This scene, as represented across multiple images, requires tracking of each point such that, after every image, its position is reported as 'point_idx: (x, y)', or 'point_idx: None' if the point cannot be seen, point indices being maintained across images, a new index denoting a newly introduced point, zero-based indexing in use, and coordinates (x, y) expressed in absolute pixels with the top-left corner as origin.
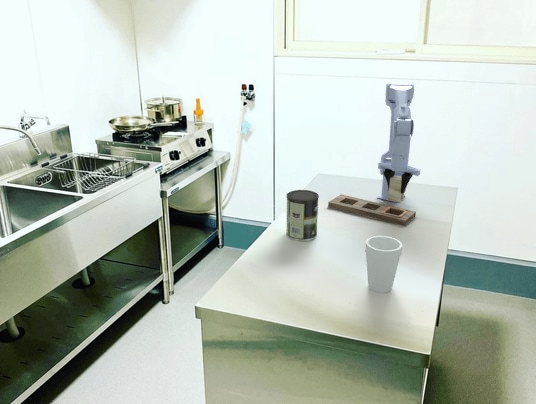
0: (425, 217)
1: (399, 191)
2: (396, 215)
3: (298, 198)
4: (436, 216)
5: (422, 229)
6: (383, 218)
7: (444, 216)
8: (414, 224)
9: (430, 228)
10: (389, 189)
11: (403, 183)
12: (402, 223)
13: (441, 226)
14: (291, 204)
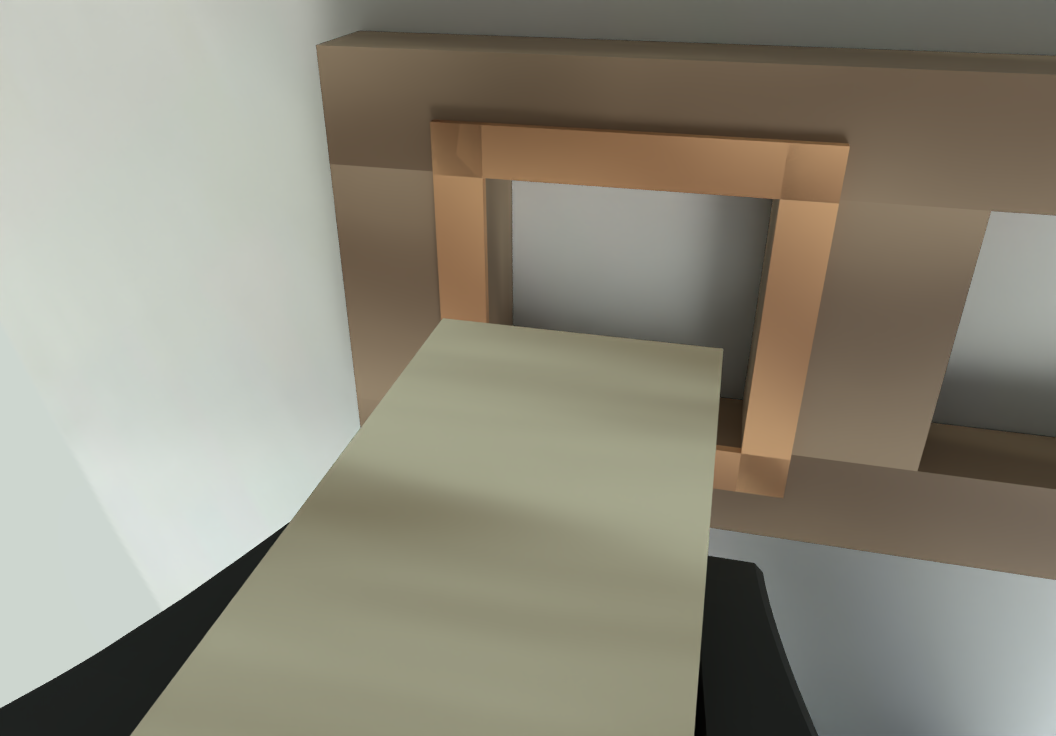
0: (297, 463)
1: (341, 481)
2: (524, 170)
3: None
4: (225, 535)
5: (118, 57)
6: (749, 52)
7: (170, 564)
8: (285, 177)
9: (74, 157)
10: (695, 533)
11: (64, 723)
12: (388, 38)
13: (33, 292)
14: None
